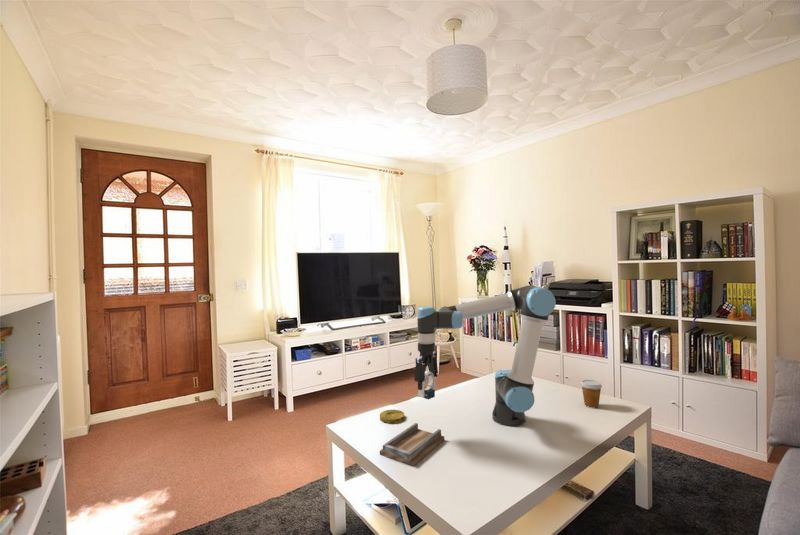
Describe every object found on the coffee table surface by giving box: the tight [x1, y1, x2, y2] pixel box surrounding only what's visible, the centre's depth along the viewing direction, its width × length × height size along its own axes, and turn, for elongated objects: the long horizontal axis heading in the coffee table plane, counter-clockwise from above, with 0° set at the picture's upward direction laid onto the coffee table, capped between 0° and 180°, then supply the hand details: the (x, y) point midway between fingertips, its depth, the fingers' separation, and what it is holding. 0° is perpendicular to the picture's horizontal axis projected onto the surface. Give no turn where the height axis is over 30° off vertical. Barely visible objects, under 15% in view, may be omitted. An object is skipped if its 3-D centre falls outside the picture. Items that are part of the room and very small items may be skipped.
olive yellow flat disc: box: [379, 409, 405, 424], centre depth 183 cm, size 12×12×2 cm
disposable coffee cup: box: [580, 379, 603, 408], centre depth 191 cm, size 10×10×12 cm
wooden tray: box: [379, 422, 445, 467], centre depth 154 cm, size 16×24×4 cm, turn 145°
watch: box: [421, 370, 436, 400], centre depth 165 cm, size 6×8×11 cm
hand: (426, 393), depth 165 cm, fingers closed on watch, 8 cm apart
